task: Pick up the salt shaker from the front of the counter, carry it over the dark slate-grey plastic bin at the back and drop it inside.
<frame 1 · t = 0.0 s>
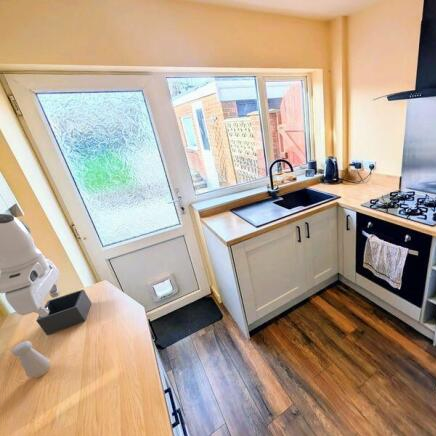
hand: (51, 304, 76), 24 cm above the countertop, tool pointing down, fingers open, 8 cm apart
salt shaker: (42, 372, 82), on the countertop
bin: (70, 318, 104), on the countertop
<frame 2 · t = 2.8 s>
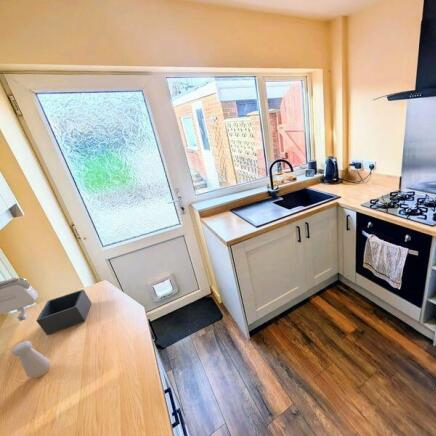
hand: (4, 325, 73), 22 cm above the countertop, tool pointing down, fingers open, 8 cm apart
nothing on the countertop moved.
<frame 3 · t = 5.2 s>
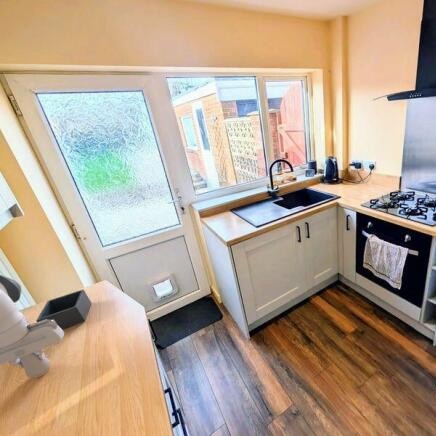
hand: (33, 362, 80), 5 cm above the countertop, tool pointing down, fingers closed on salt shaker, 3 cm apart
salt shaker: (42, 372, 82), on the countertop, touching gripper
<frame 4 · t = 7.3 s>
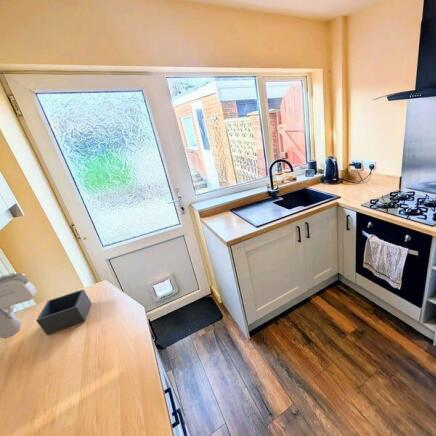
hand: (1, 320, 73), 23 cm above the countertop, tool pointing down, fingers closed on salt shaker, 3 cm apart
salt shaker: (12, 333, 75), point 18 cm above the countertop, touching gripper
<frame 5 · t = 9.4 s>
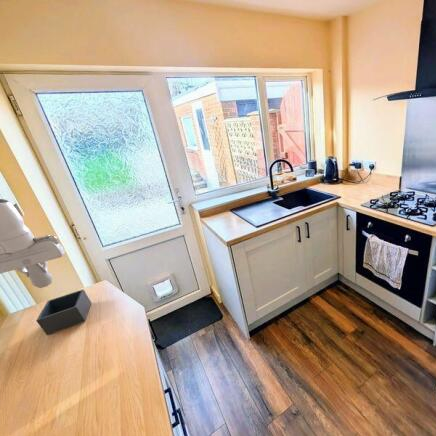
hand: (38, 273, 93), 24 cm above the countertop, tool pointing down, fingers closed on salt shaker, 3 cm apart
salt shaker: (45, 285, 95), point 19 cm above the countertop, touching gripper
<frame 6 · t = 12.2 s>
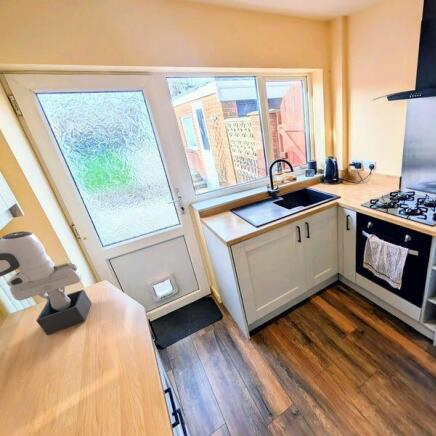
hand: (57, 298, 100), 11 cm above the countertop, tool pointing down, fingers closed on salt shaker, 3 cm apart
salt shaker: (64, 307, 102), point 6 cm above the countertop, touching gripper
when the fingers open (6 cm above the countertop, at t = 14.3 s): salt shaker stays where it is, resting on bin.
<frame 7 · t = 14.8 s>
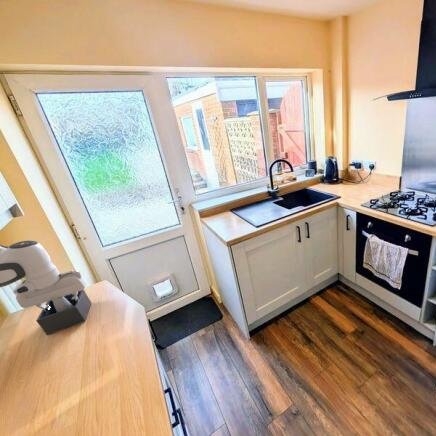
hand: (62, 305, 101), 7 cm above the countertop, tool pointing down, fingers open, 8 cm apart
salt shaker: (70, 316, 104), point 1 cm above the countertop, touching bin
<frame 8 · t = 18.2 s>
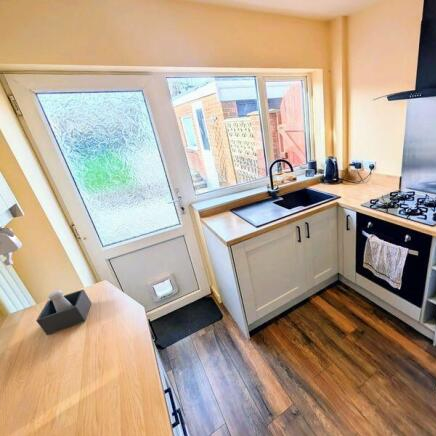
nothing on the countertop moved.
at the end: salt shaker inside the target area in the bin (0.0 cm from its centre), point 0.8 cm above the bin's base; the gripper is holding nothing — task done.
